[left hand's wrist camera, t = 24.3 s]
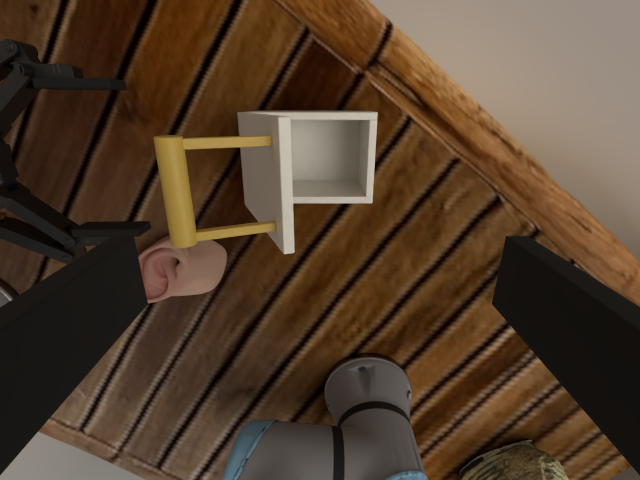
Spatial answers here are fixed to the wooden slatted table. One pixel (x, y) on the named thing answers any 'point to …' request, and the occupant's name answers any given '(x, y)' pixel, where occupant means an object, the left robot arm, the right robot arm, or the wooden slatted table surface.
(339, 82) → the wooden slatted table surface
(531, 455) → the fossil
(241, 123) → the lid
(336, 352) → the wooden slatted table surface
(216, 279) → the anatomical model
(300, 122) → the chest
